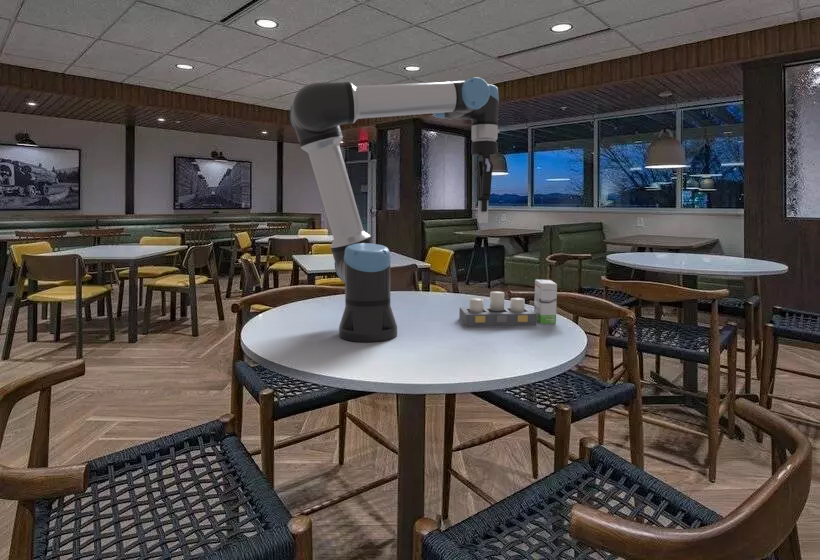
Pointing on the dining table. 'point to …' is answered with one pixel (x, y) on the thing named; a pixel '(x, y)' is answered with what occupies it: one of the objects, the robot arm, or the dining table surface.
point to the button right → (517, 305)
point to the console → (497, 317)
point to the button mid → (497, 301)
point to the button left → (476, 305)
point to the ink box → (545, 301)
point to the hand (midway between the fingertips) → (482, 222)
